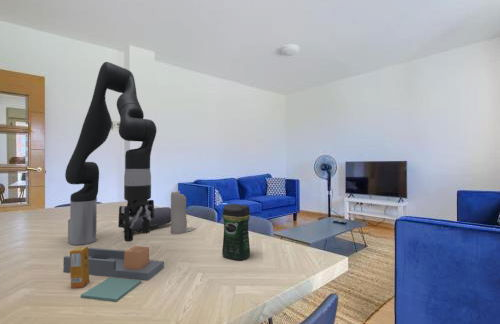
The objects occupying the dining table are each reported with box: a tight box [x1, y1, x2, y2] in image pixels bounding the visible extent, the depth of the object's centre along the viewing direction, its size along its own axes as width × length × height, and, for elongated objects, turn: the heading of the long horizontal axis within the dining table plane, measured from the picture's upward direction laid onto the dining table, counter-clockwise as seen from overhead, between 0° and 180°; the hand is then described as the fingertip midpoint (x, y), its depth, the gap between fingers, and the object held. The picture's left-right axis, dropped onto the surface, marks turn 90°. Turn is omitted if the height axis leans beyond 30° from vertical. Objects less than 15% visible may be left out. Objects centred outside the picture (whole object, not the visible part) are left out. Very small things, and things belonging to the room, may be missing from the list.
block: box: [124, 245, 150, 270], centre depth 78 cm, size 5×5×5 cm
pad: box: [80, 277, 142, 303], centre depth 68 cm, size 10×10×1 cm
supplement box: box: [69, 246, 90, 289], centre depth 70 cm, size 3×3×10 cm
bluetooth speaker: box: [123, 206, 171, 232], centre depth 128 cm, size 23×9×10 cm, turn 144°
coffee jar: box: [221, 203, 251, 261], centre depth 92 cm, size 10×8×19 cm
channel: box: [63, 247, 165, 281], centre depth 80 cm, size 28×9×4 cm, turn 80°
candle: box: [170, 190, 197, 235], centre depth 126 cm, size 7×14×20 cm, turn 148°
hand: (137, 236), depth 78 cm, fingers open, 8 cm apart
